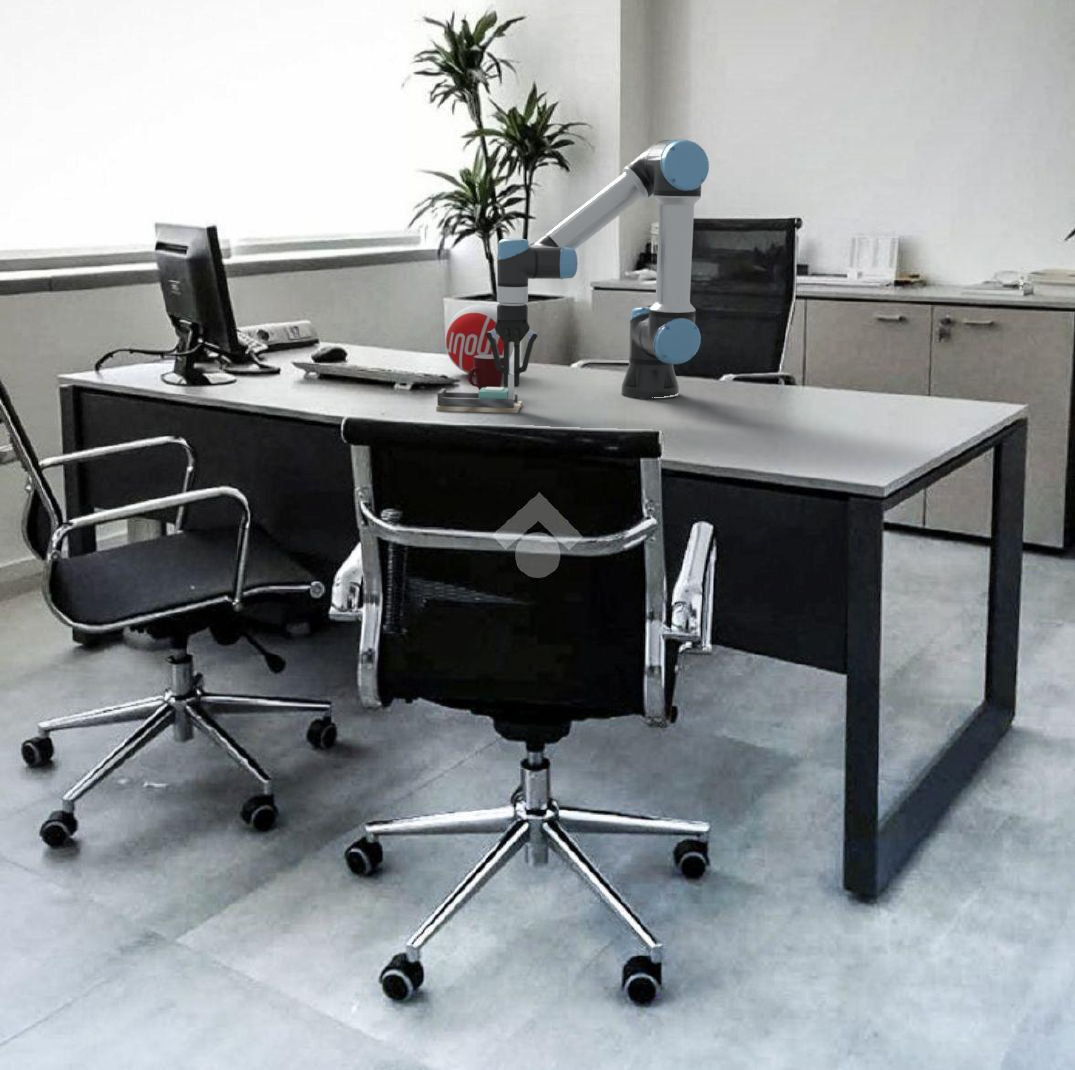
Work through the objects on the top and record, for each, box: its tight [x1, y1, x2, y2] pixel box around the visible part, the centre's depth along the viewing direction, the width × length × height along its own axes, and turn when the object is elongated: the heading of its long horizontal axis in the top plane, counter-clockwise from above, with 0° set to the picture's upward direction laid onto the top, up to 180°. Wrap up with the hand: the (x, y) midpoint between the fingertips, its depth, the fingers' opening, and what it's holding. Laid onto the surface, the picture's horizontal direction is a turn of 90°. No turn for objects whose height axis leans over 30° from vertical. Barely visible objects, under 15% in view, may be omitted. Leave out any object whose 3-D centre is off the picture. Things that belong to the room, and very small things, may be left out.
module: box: [478, 386, 508, 399], centre depth 327 cm, size 7×6×4 cm
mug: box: [467, 355, 504, 392], centre depth 345 cm, size 10×8×10 cm
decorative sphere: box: [444, 304, 514, 376], centre depth 376 cm, size 20×20×20 cm
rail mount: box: [435, 387, 523, 414], centre depth 328 cm, size 20×11×4 cm, turn 85°
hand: (511, 399), depth 327 cm, fingers closed
